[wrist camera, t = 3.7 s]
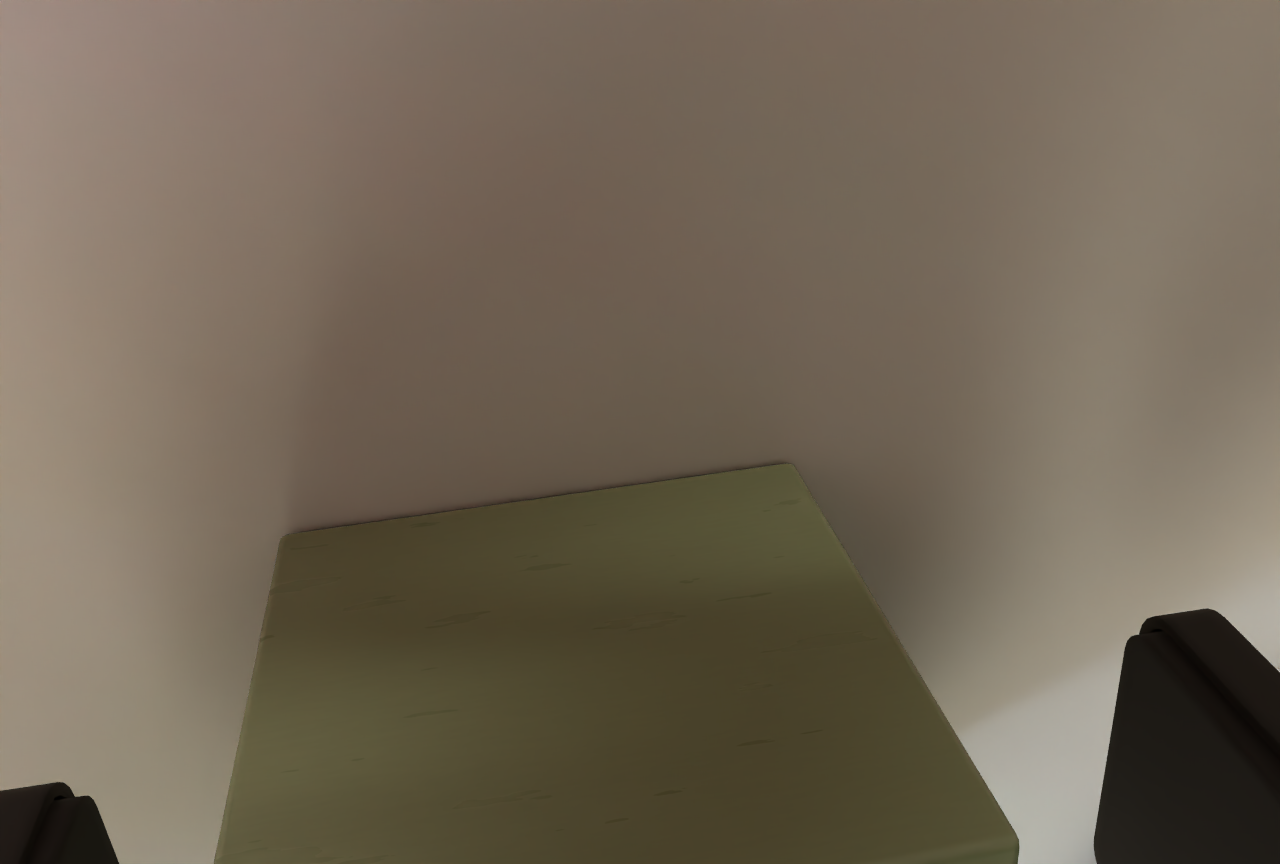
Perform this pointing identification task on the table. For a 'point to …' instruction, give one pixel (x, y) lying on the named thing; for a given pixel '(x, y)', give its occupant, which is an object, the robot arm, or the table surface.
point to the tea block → (596, 693)
